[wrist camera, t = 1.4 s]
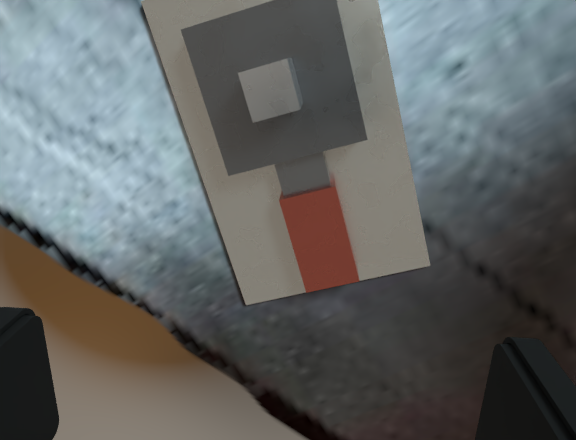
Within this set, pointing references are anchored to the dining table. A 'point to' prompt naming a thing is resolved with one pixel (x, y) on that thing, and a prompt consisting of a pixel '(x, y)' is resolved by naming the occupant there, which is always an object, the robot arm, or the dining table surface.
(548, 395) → the robot arm
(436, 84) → the dining table surface
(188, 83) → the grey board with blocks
